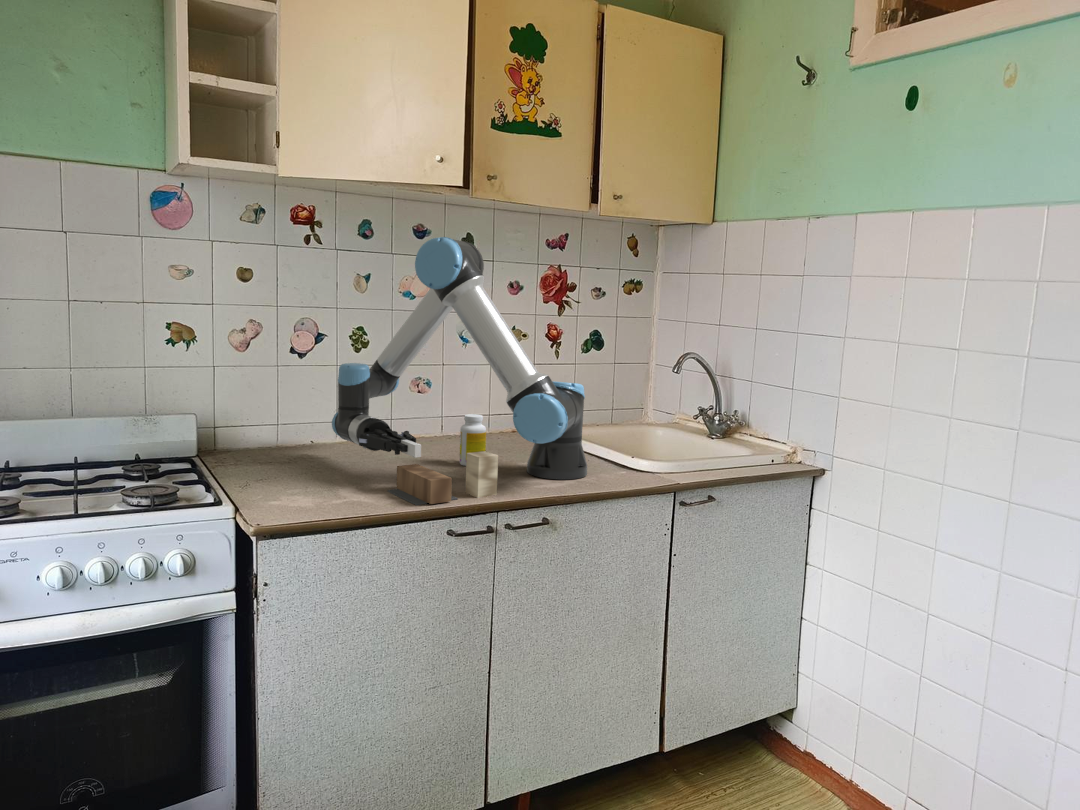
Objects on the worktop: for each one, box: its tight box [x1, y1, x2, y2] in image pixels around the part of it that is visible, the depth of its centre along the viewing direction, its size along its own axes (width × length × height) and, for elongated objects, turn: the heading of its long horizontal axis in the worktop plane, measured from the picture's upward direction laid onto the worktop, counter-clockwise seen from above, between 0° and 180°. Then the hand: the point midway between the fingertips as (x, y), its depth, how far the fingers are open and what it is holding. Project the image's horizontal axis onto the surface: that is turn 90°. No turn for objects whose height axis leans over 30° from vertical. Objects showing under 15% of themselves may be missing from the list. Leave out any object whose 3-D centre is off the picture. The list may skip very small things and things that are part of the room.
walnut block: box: [396, 463, 453, 505], centre depth 170 cm, size 5×5×15 cm
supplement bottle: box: [459, 413, 487, 467], centre depth 202 cm, size 7×7×13 cm
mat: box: [386, 488, 458, 506], centre depth 171 cm, size 10×13×1 cm
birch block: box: [464, 450, 499, 499], centre depth 174 cm, size 5×5×9 cm
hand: (418, 451), depth 171 cm, fingers closed
